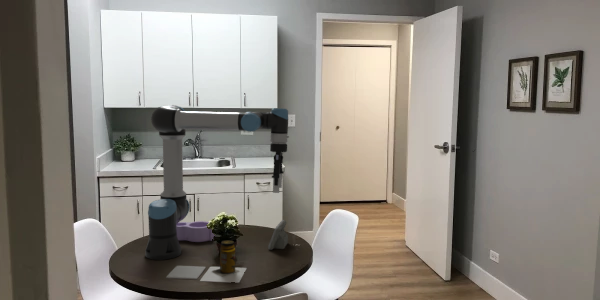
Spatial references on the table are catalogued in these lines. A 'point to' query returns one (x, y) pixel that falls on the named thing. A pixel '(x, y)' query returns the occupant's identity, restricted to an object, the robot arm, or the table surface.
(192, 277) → the mat
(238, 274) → the tile
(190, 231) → the purple compartment organizer
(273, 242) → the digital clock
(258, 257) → the table surface
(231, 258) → the condiment
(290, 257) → the table surface
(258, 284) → the table surface
